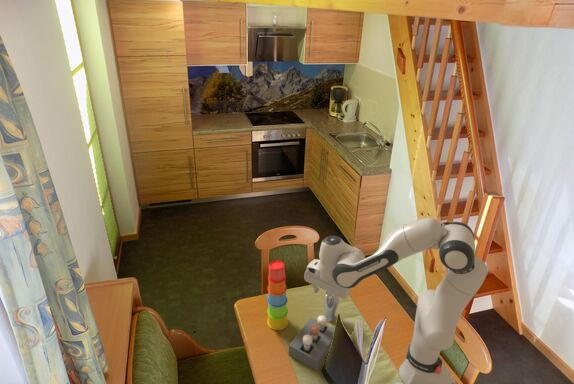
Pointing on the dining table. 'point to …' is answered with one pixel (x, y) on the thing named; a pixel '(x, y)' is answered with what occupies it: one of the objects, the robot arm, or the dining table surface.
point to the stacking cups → (277, 296)
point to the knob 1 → (307, 342)
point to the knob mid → (314, 332)
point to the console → (312, 345)
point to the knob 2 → (321, 322)
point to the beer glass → (330, 306)
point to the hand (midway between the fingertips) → (325, 295)
